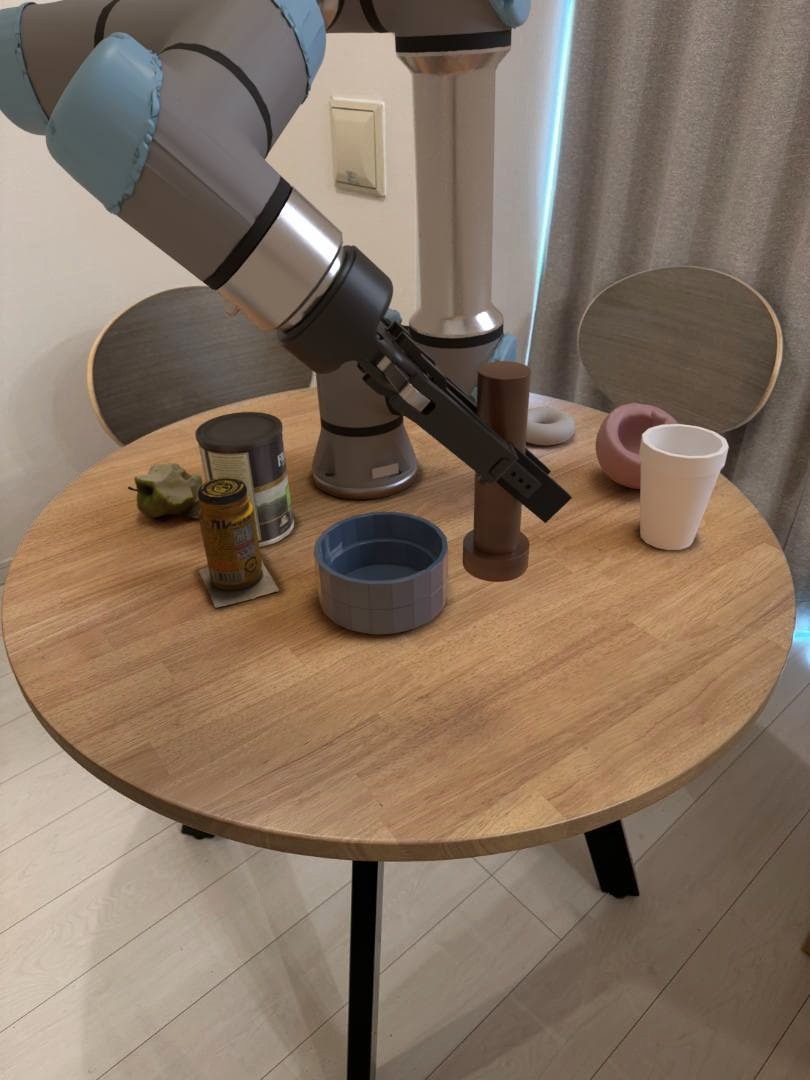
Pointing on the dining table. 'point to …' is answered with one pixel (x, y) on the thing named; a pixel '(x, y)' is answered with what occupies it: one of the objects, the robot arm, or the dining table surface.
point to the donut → (549, 426)
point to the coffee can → (251, 466)
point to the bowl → (382, 572)
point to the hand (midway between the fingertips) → (546, 494)
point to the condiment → (231, 544)
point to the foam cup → (677, 482)
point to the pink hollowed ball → (626, 440)
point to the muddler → (497, 513)
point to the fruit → (168, 491)
